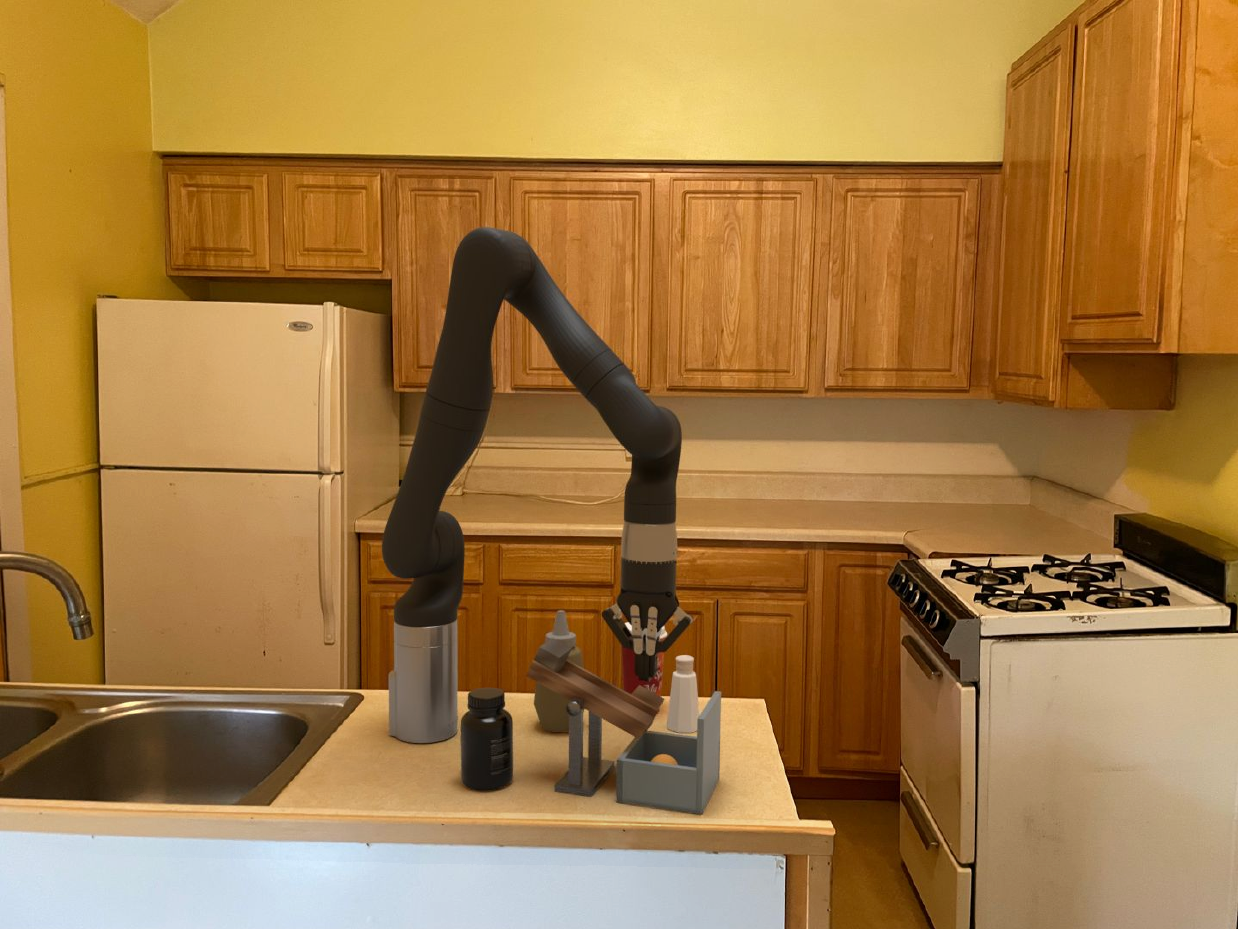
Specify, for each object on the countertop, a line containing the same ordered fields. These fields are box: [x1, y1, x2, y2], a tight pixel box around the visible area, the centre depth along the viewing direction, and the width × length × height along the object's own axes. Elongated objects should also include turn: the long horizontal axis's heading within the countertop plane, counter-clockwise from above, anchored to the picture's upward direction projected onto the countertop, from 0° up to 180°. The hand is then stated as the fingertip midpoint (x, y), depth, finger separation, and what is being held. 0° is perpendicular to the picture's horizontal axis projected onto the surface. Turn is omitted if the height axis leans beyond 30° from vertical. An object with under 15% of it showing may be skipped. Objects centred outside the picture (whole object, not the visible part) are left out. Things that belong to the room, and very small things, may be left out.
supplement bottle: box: [459, 687, 514, 792], centre depth 124 cm, size 7×7×12 cm
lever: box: [525, 638, 665, 740], centre depth 128 cm, size 17×13×4 cm
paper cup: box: [621, 621, 668, 715], centre depth 152 cm, size 8×8×14 cm
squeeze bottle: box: [533, 609, 586, 733], centre depth 144 cm, size 8×8×18 cm
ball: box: [651, 754, 678, 765], centre depth 122 cm, size 4×4×4 cm
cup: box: [615, 690, 722, 816], centre depth 122 cm, size 11×11×12 cm
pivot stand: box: [553, 698, 615, 798], centre depth 125 cm, size 5×10×12 cm, turn 163°
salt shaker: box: [666, 654, 700, 734], centre depth 145 cm, size 5×5×11 cm
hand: (645, 679), depth 129 cm, fingers closed
